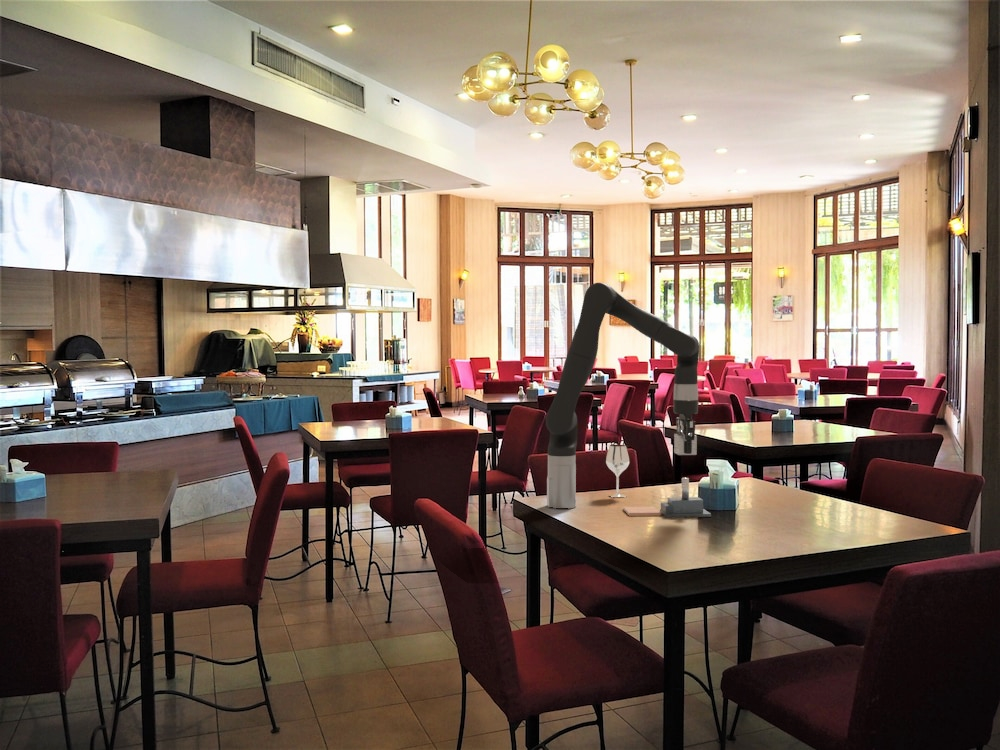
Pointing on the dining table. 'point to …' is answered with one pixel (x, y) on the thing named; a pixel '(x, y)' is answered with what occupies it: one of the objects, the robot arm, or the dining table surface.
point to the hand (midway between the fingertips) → (685, 452)
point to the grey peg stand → (684, 505)
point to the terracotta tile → (642, 511)
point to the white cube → (680, 445)
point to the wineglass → (617, 462)
